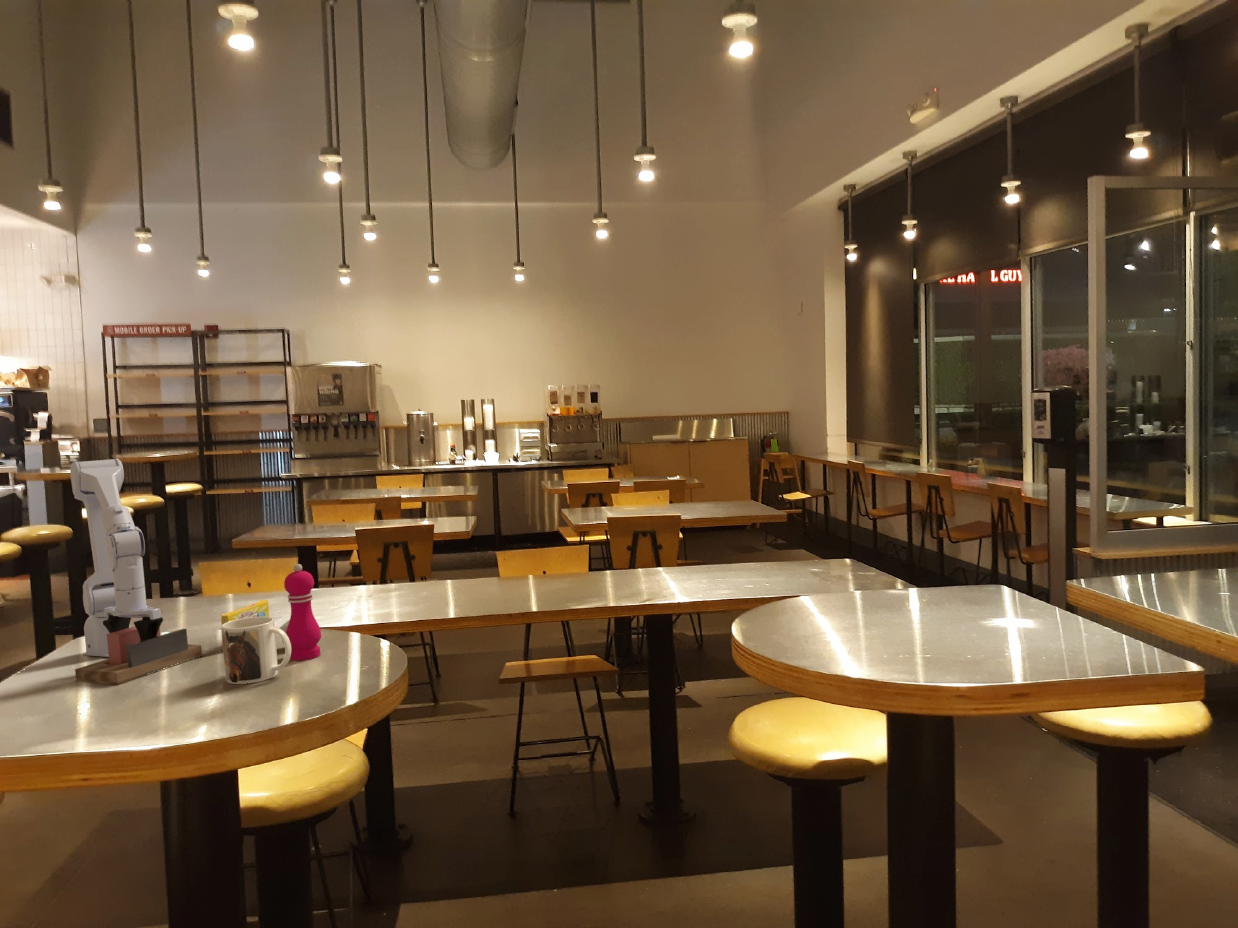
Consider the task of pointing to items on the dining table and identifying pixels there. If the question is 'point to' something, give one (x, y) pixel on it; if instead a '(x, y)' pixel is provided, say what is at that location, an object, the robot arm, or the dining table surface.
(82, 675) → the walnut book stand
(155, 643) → the dark gray flat bar
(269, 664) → the mug
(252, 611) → the candy box
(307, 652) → the pepper mill
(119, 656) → the pink rectangular block
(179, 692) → the dining table surface
